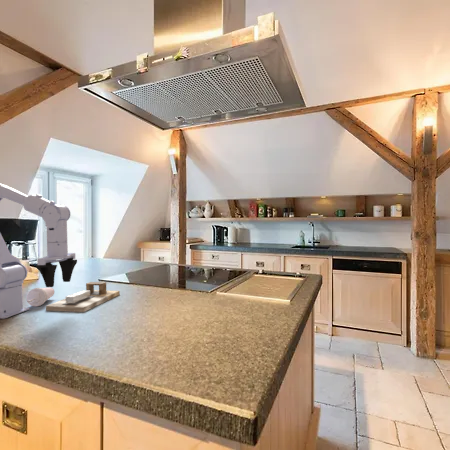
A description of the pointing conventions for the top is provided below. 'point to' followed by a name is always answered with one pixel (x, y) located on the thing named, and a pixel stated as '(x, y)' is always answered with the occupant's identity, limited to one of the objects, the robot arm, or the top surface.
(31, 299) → the smoothie
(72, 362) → the top surface
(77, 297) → the brushed metal block
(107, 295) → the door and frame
